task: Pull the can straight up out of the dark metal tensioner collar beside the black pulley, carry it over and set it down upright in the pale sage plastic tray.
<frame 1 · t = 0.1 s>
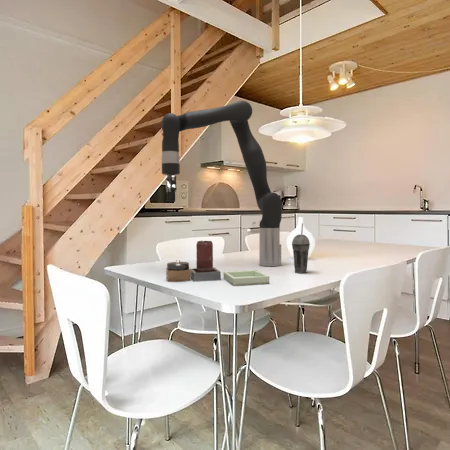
hand: (171, 201, 151), 29 cm above the table, fingers open, 8 cm apart
beverage cup: (300, 272, 146), on the table
can: (204, 278, 135), resting in tensioner
tray: (245, 281, 129), on the table
tensioner: (204, 277, 135), on the table
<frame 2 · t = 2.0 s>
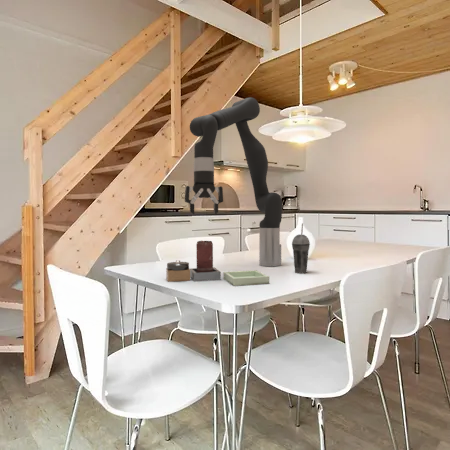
hand: (204, 214, 134), 24 cm above the table, fingers open, 8 cm apart
nothing on the table moved.
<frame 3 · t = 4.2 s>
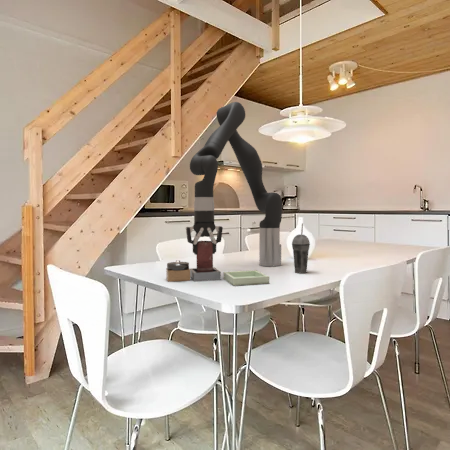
hand: (204, 253, 135), 9 cm above the table, fingers closed on can, 6 cm apart
can: (204, 278, 135), resting in tensioner, touching gripper
everything else where it was.
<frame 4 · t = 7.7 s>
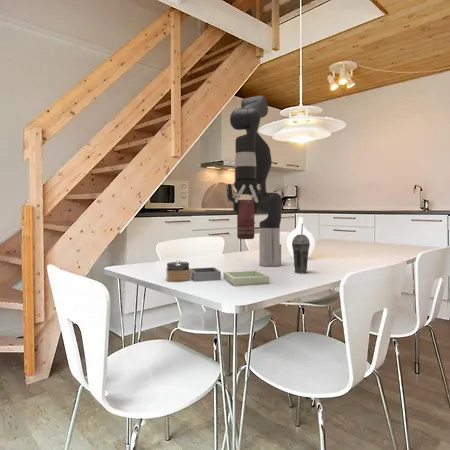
hand: (245, 213, 128), 25 cm above the table, fingers closed on can, 6 cm apart
can: (245, 239, 128), point 15 cm above the table, touching gripper
everything else where it was.
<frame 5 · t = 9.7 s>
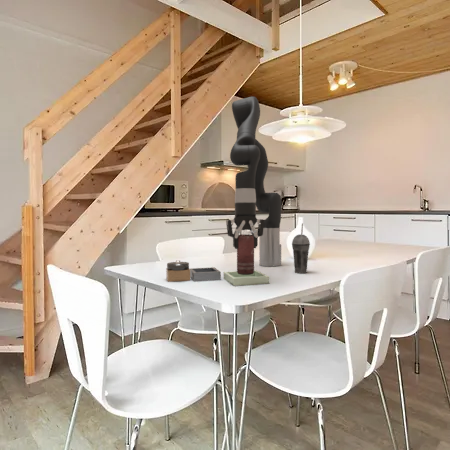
hand: (245, 248, 129), 12 cm above the table, fingers closed on can, 6 cm apart
can: (245, 274, 129), point 3 cm above the table, touching gripper
everything else where it was.
when the fingers open (11 cm above the table, at t = 11.1 s): can stays where it is, resting on tray.
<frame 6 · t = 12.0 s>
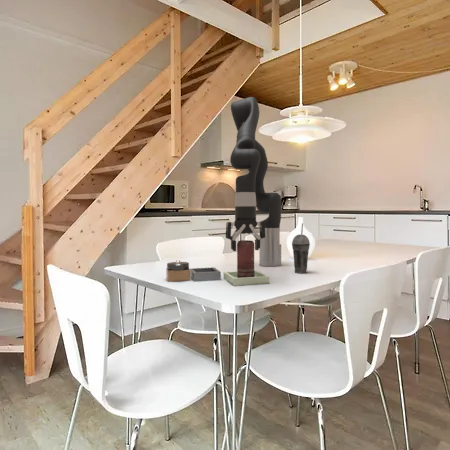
hand: (245, 250, 128), 11 cm above the table, fingers open, 8 cm apart
can: (245, 279, 129), resting on tray
everything else where it was.
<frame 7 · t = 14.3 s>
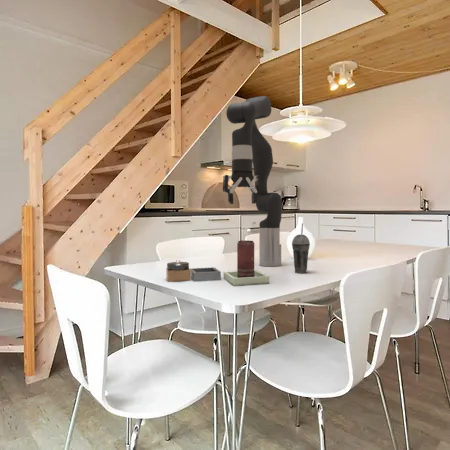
hand: (242, 203, 131), 28 cm above the table, fingers open, 8 cm apart
nothing on the table moved.
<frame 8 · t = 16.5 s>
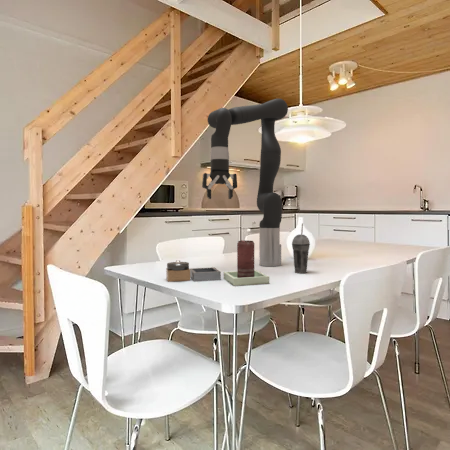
hand: (219, 199, 147), 30 cm above the table, fingers open, 8 cm apart
nothing on the table moved.
at the end: can 0.1 cm from the tray (horizontally); can tilted 0°; the gripper is holding nothing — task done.
